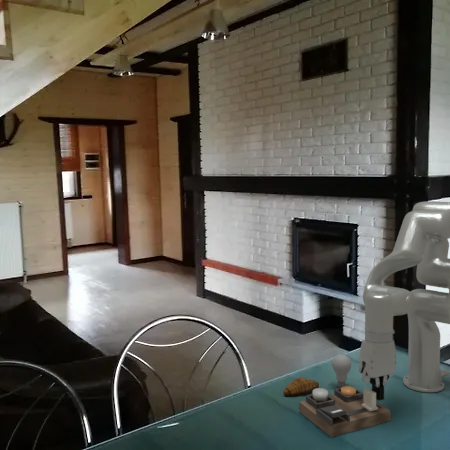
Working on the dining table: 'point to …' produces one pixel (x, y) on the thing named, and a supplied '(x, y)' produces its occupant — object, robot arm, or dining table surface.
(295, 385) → the croissant
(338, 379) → the lightbulb
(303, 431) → the dining table surface
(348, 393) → the orange button
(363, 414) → the panel
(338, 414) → the rocker
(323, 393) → the grey button
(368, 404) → the cream stepped block
